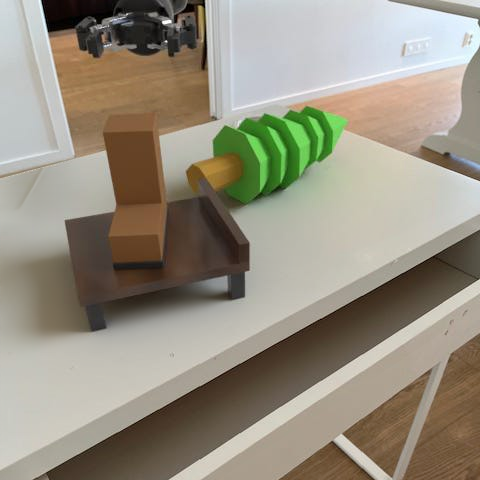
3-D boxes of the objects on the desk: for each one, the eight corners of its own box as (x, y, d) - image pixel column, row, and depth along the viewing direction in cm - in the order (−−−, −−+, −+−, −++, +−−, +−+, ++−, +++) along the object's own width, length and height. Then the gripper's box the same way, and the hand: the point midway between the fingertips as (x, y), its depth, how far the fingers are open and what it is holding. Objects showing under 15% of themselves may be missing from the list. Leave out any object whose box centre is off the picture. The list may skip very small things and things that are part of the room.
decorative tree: (178, 121, 66) (338, 67, 79) (171, 184, 76) (314, 127, 89) (231, 179, 63) (389, 113, 76) (216, 238, 72) (358, 170, 86)
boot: (113, 270, 54) (90, 160, 46) (126, 214, 62) (108, 114, 55) (163, 268, 54) (148, 158, 46) (168, 212, 63) (157, 112, 55)
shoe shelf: (88, 335, 53) (72, 278, 49) (73, 254, 65) (59, 201, 60) (249, 298, 58) (249, 242, 53) (209, 228, 69) (206, 177, 64)
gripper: (87, -14, 67) (61, 10, 55) (195, -16, 68) (194, 8, 55) (97, 49, 72) (76, 84, 60) (198, 47, 73) (198, 81, 60)
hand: (132, 47), depth 58 cm, fingers open, 8 cm apart
